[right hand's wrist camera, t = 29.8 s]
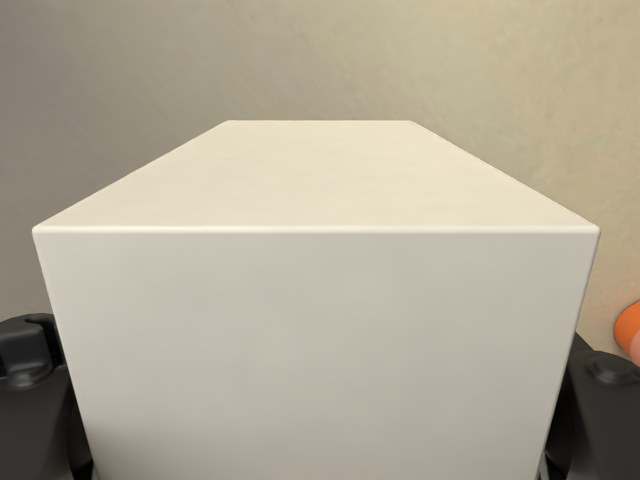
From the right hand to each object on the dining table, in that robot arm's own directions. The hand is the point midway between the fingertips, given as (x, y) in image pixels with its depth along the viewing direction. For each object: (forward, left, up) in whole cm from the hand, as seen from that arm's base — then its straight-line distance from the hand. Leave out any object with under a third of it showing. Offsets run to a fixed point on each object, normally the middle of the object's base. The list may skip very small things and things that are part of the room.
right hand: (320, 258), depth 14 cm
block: (0, 0, -3) cm, 3 cm away
